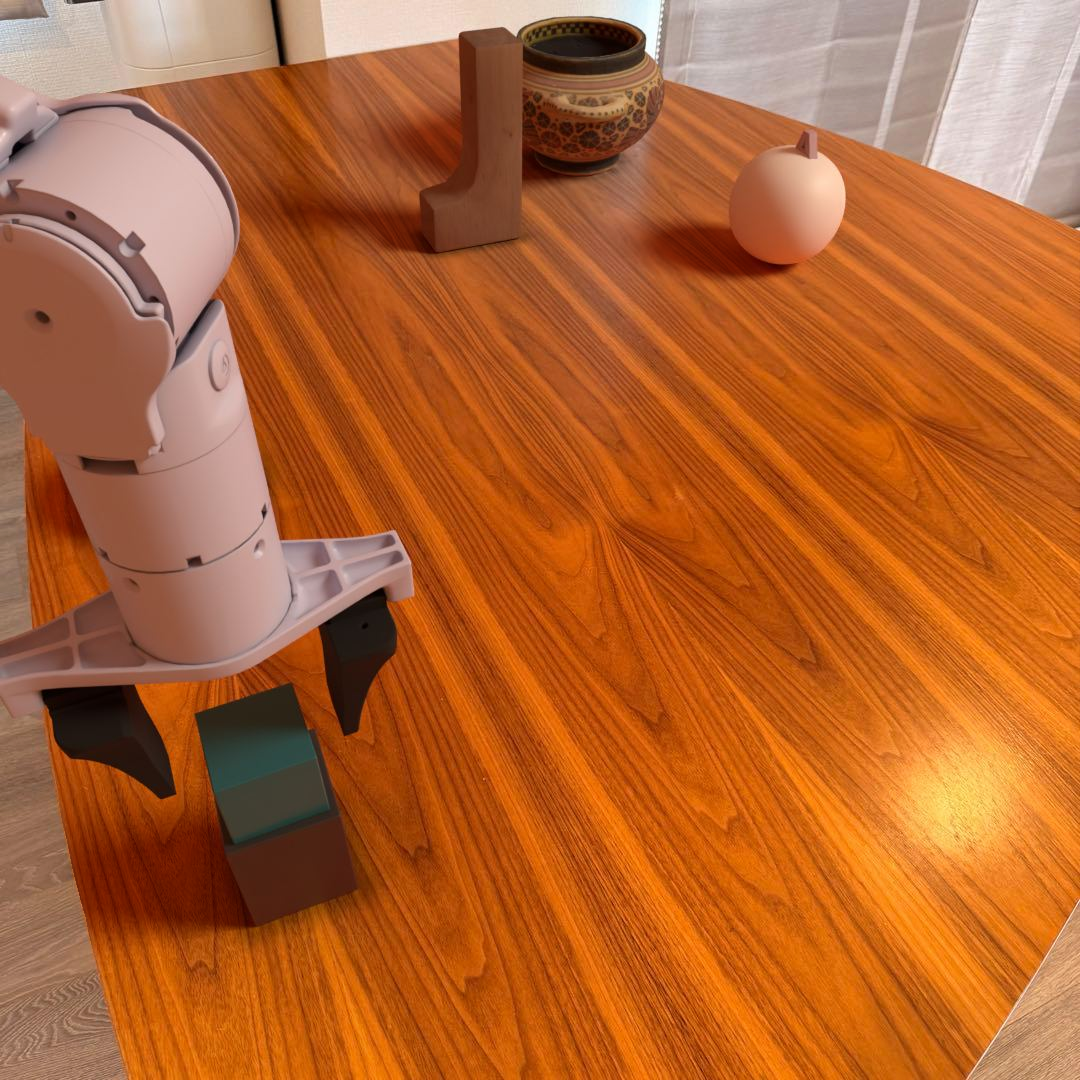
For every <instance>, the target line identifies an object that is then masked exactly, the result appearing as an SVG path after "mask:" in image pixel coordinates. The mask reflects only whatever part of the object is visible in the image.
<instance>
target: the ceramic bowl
mask: <svg viewBox="0 0 1080 1080" xmlns="http://www.w3.org/2000/svg"><path fill="white" fill-rule="evenodd" d="M515 36H516V37H517V38H518V39H519V40H520V41H522V44H523V85H522V144H525V145H526V146H527V147H529V148H530V149H532V150H534V158H535V160H536V161H537V163H539V165H540V166H541V167H543V168H545V169H547V170H549V171H552V172H555V173H559V174H562V175H567V176H576V177H577V176H593V175H597V174H602V173H603V172H606V171H608V170H610V169H613V168H614V167H615V166H616V165H617V164H618V162H619V161H620V158H621V153H622V152H624V151H626V150H628V149H629V148H631V147H633V146H634V145H635V144H637V143H638V142H639V141H640V140H641V139H643V138H644V136H645V135H646V134H647V133H648V132H649V131H650V130H651V128H652V127H653V126H654V124H655V123H656V121H657V120H658V117H659V115H660V113H661V110H662V108H663V103H664V99H665V88H666V87H665V79H664V75H663V73H662V71H661V70H662V69H661V68H660V66H659V64H658V62H657V61H656V60H655V58H653V57H652V56H651V55H650V54H649V53H648V52H647V51H646V46H647V35H646V33H645V32H644V30H642V29H641V28H639V27H638V26H637V25H635V24H632V23H629V22H627V21H625V20H621V19H616V18H612V17H603V16H595V15H594V16H593V15H583V16H581V15H579V16H578V15H577V16H576V15H571V16H569V15H568V16H552V17H549V18H544V19H539V20H536V21H533V22H530V23H528V24H526V25H524V26H522V27H521V28H520V29H519V30H518V32H517V33H516V35H515Z"/></svg>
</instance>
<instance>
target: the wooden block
mask: <svg viewBox="0 0 1080 1080" xmlns="http://www.w3.org/2000/svg"><path fill="white" fill-rule="evenodd" d="M516 36H517V35H515V34H514V33H512V32H511V31H510V30H509V29H507V28H506V27H504V26H498V27H491V28H482V29H480V28H479V29H473V30H464V31H460V32H459V33H458V62H459V63H458V64H459V89H460V93H459V94H460V119H461V152H460V155H459V160H458V165H457V166H456V167H455V169H454V170H453V171H452V173H451V174H450V175H449V176H448V178H447V179H446V180H445V181H443V182H441V183H437V184H434V185H431V186H429V187H425V188H423V189H421V190H420V191H419V192H418V198H419V199H418V200H419V212H420V213H419V214H420V228H421V229H420V230H421V233H422V235H423V236H424V238H425V239H426V240H427V242H428V244H429V245H430V246H431V248H432V249H433V251H434V252H435V253H444V252H448V251H449V252H450V251H455V250H460V249H465V248H470V247H476V246H482V245H487V244H493V243H497V242H504V241H509V240H515V239H519V238H521V237H522V221H523V220H522V217H523V216H522V213H523V212H522V209H523V207H522V205H523V198H522V197H523V142H522V85H523V44H522V41H520V40H519V39H518V38H517V37H516Z"/></svg>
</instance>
